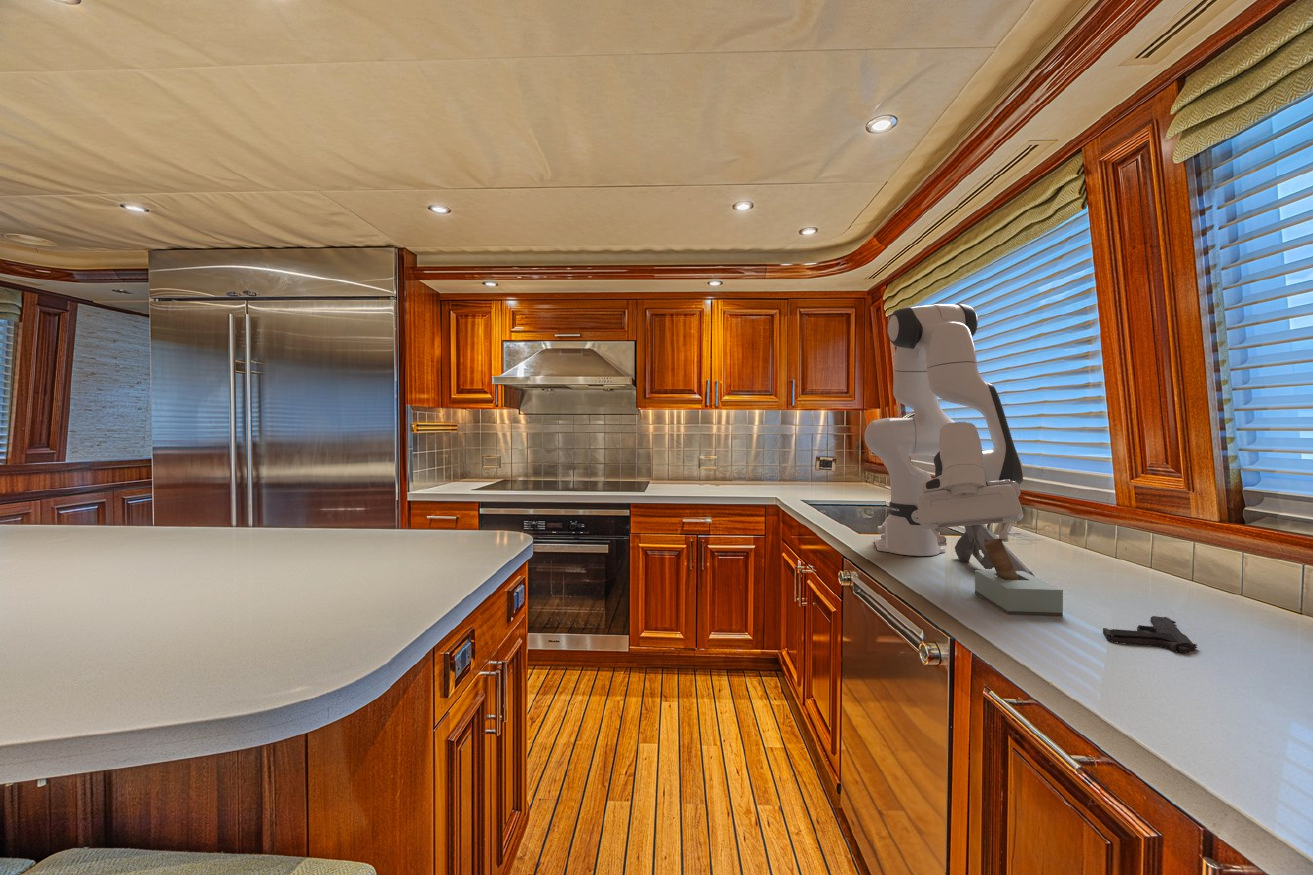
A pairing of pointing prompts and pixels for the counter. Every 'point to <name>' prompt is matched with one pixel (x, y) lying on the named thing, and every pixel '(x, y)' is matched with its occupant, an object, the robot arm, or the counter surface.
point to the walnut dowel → (1000, 560)
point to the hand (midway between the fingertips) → (971, 543)
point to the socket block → (1019, 594)
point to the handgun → (1153, 635)
